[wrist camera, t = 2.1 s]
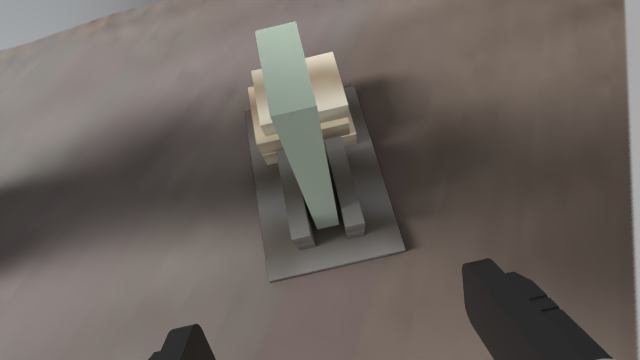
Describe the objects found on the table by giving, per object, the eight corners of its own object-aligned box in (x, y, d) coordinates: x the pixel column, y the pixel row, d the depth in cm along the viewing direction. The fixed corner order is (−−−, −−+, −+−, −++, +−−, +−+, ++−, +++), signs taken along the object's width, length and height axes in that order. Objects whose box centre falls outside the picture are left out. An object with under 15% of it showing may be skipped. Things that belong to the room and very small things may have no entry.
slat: (339, 224, 31) (316, 105, 14) (317, 229, 31) (270, 116, 14) (327, 174, 33) (295, 21, 16) (306, 179, 33) (254, 30, 16)
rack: (404, 252, 30) (415, 232, 24) (271, 282, 30) (249, 271, 24) (354, 91, 38) (353, 44, 31) (247, 116, 38) (225, 74, 31)
